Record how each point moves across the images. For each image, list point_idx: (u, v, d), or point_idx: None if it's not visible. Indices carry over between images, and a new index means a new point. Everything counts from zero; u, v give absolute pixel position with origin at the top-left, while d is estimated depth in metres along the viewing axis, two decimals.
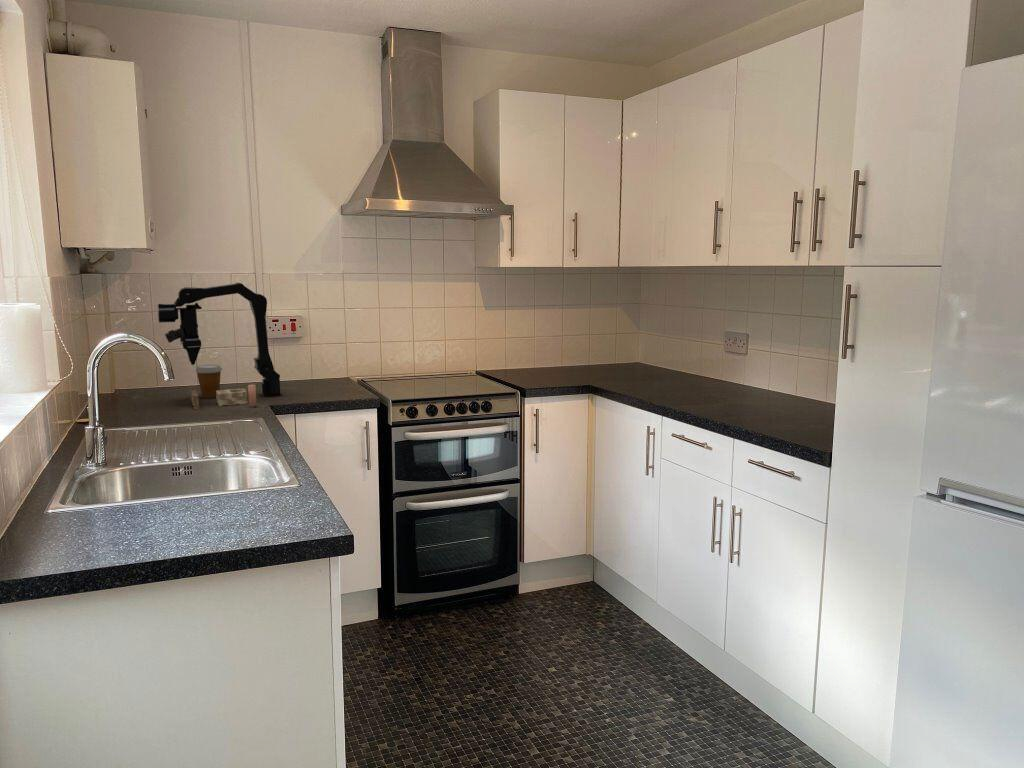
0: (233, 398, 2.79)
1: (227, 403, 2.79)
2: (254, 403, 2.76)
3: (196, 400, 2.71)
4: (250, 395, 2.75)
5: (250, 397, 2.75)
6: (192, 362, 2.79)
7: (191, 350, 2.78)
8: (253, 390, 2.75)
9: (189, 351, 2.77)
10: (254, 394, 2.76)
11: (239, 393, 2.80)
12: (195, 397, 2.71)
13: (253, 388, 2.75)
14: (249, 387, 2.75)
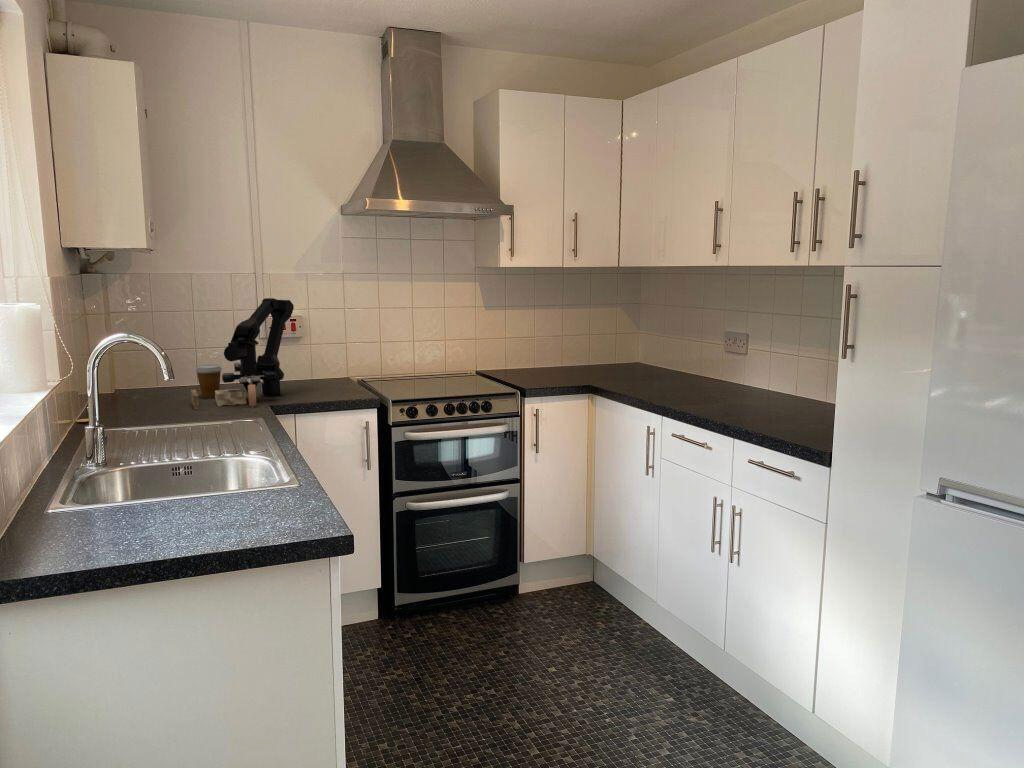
0: (232, 398, 2.79)
1: (226, 403, 2.79)
2: (254, 403, 2.76)
3: (196, 400, 2.71)
4: (250, 395, 2.75)
5: (250, 397, 2.75)
6: None
7: None
8: (253, 390, 2.75)
9: (244, 385, 2.85)
10: (254, 394, 2.76)
11: (238, 393, 2.80)
12: (195, 397, 2.71)
13: (253, 388, 2.75)
14: (249, 387, 2.75)
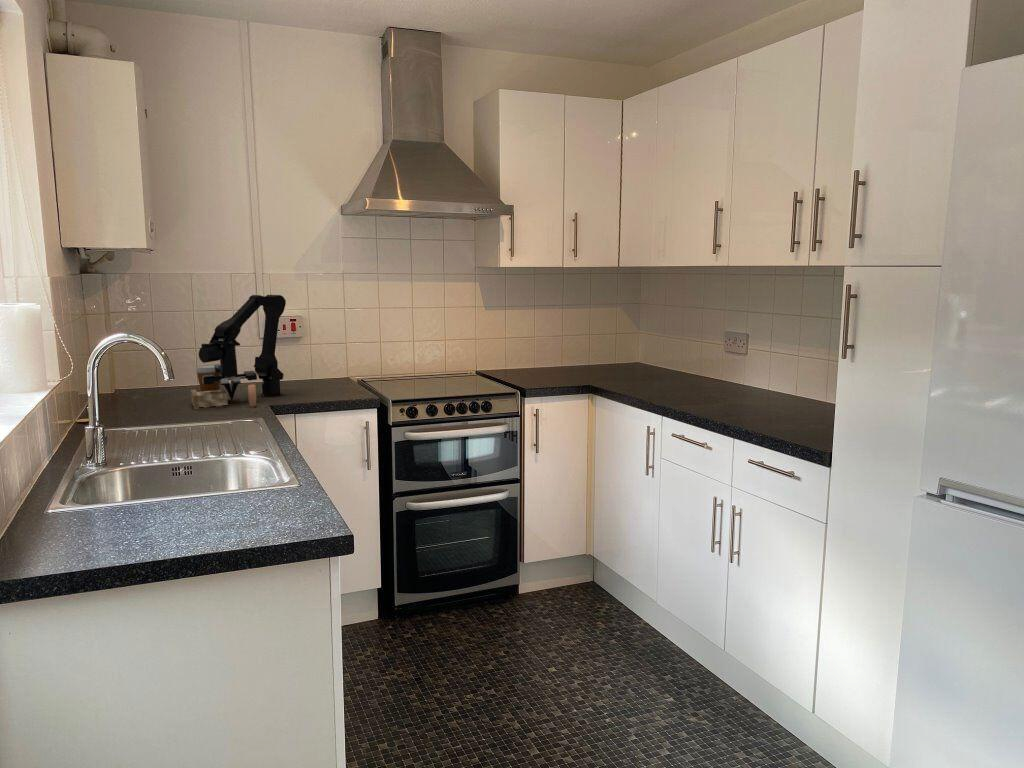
0: (213, 400, 2.76)
1: (207, 405, 2.76)
2: (254, 403, 2.76)
3: (196, 400, 2.71)
4: (250, 395, 2.75)
5: (250, 397, 2.75)
6: (230, 397, 2.83)
7: None
8: (253, 390, 2.75)
9: (225, 386, 2.82)
10: (254, 394, 2.76)
11: (219, 395, 2.77)
12: (195, 397, 2.71)
13: (253, 388, 2.75)
14: (249, 387, 2.75)
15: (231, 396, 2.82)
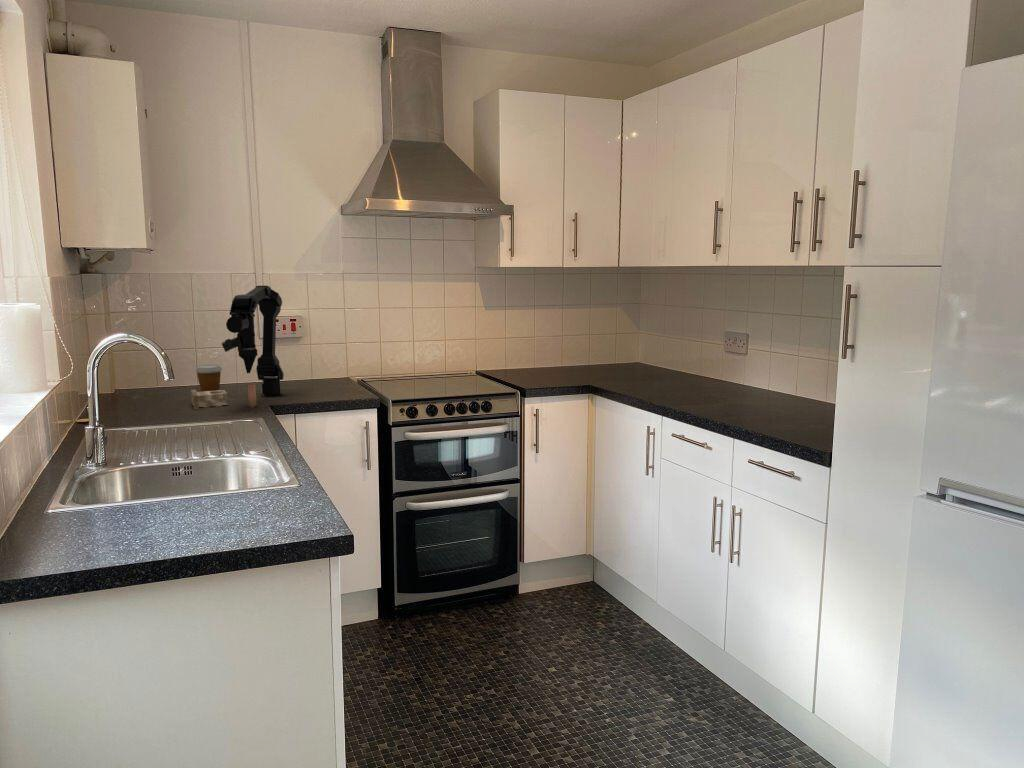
0: (213, 400, 2.76)
1: (207, 405, 2.76)
2: (254, 403, 2.76)
3: (196, 400, 2.71)
4: (250, 395, 2.75)
5: (250, 397, 2.75)
6: (247, 370, 2.75)
7: (247, 358, 2.73)
8: (253, 390, 2.75)
9: (245, 359, 2.73)
10: (254, 394, 2.76)
11: (219, 395, 2.77)
12: (195, 397, 2.71)
13: (253, 388, 2.75)
14: (249, 387, 2.75)
15: (251, 368, 2.76)
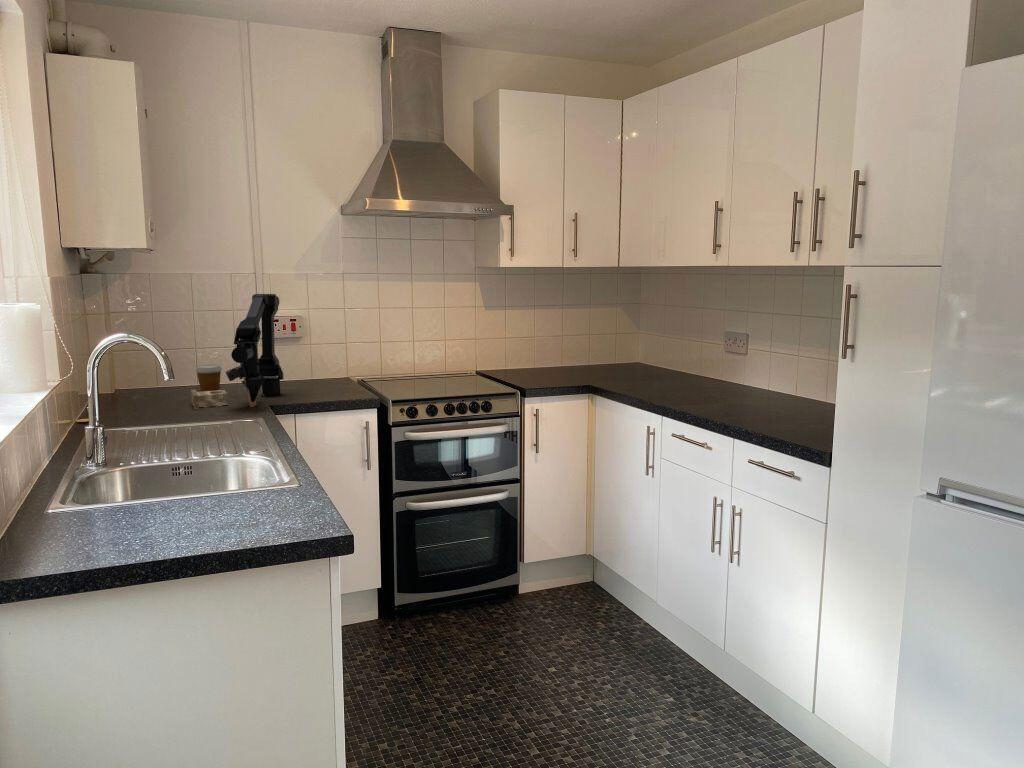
0: (213, 400, 2.76)
1: (207, 405, 2.76)
2: (254, 403, 2.76)
3: (196, 400, 2.71)
4: None
5: None
6: (252, 399, 2.75)
7: (252, 387, 2.73)
8: None
9: (250, 388, 2.73)
10: None
11: (219, 395, 2.77)
12: (195, 397, 2.71)
13: None
14: None
15: None
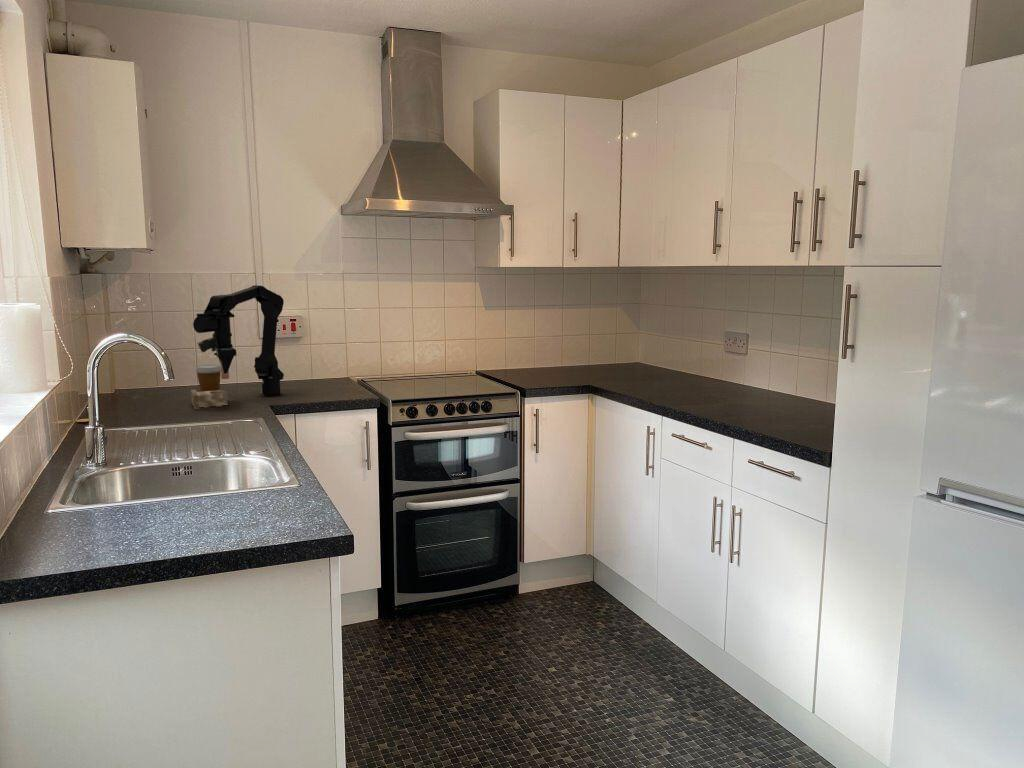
0: (213, 400, 2.76)
1: (207, 405, 2.76)
2: (226, 375, 2.77)
3: (196, 400, 2.71)
4: None
5: (222, 369, 2.76)
6: (225, 371, 2.76)
7: (224, 359, 2.74)
8: None
9: (222, 360, 2.73)
10: None
11: (219, 395, 2.77)
12: (195, 397, 2.71)
13: None
14: None
15: None
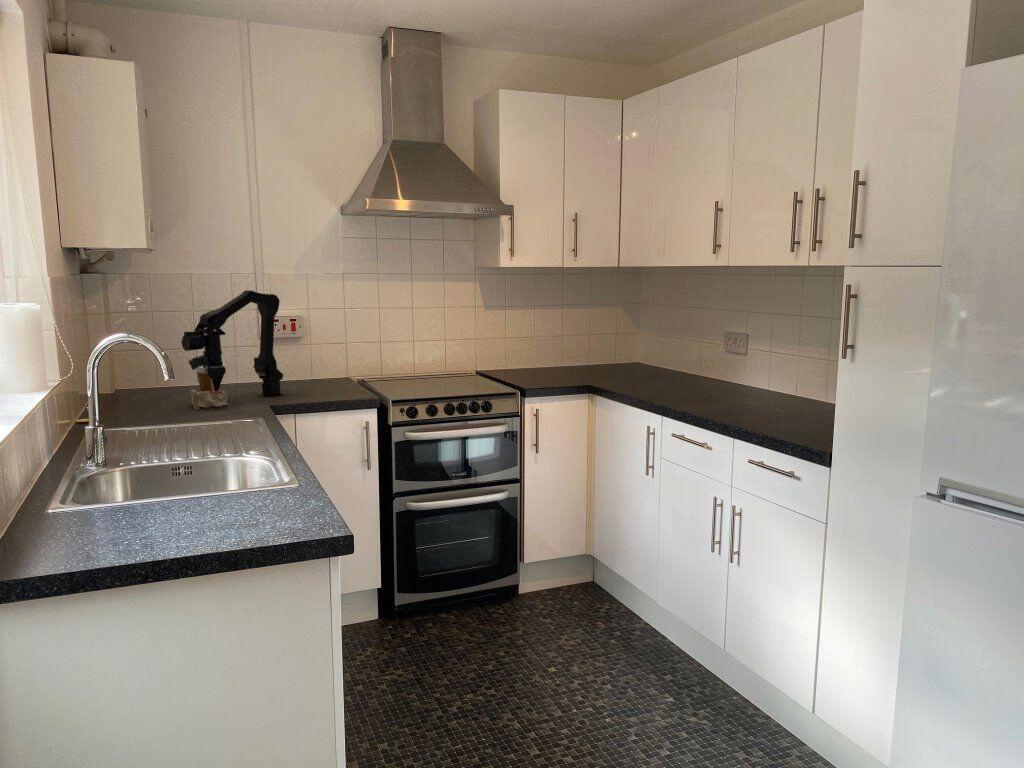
0: (213, 400, 2.76)
1: (207, 405, 2.76)
2: None
3: (196, 400, 2.71)
4: (213, 388, 2.79)
5: (213, 391, 2.79)
6: (215, 388, 2.77)
7: (215, 376, 2.75)
8: None
9: (213, 377, 2.75)
10: None
11: (219, 395, 2.77)
12: (195, 397, 2.71)
13: None
14: None
15: None
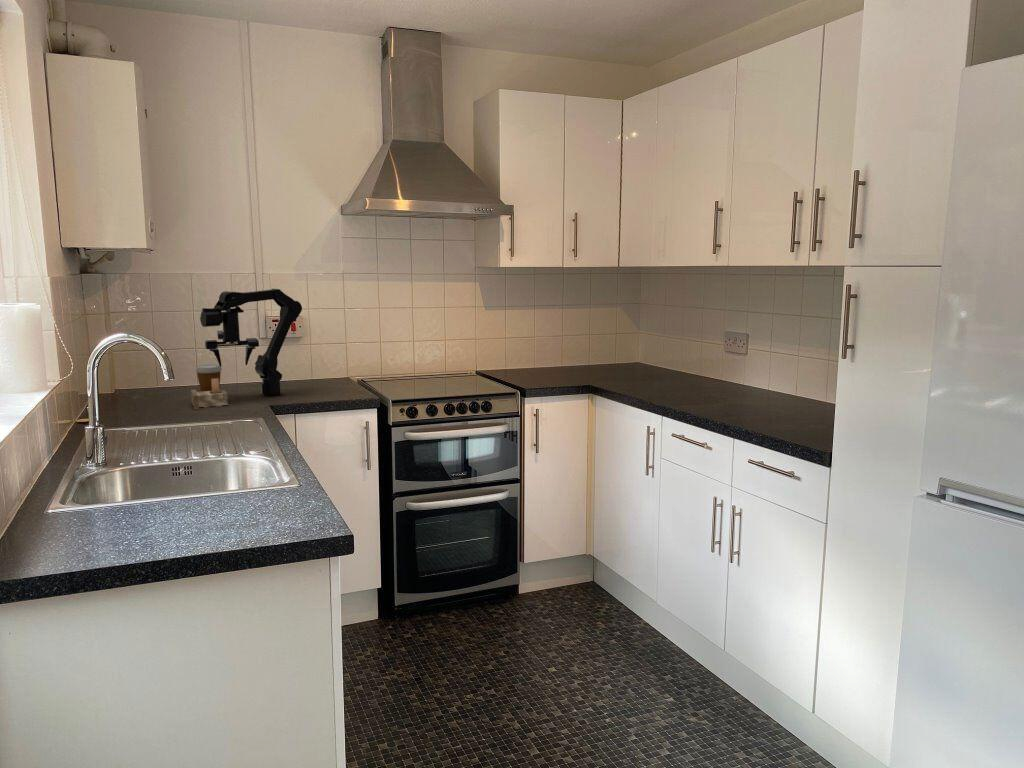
0: (213, 400, 2.76)
1: (207, 405, 2.76)
2: None
3: (196, 400, 2.71)
4: (214, 388, 2.79)
5: (213, 391, 2.79)
6: (219, 364, 2.85)
7: None
8: (216, 384, 2.79)
9: None
10: (217, 388, 2.79)
11: (219, 395, 2.77)
12: (195, 397, 2.71)
13: (216, 382, 2.79)
14: (212, 381, 2.78)
15: (246, 361, 2.88)
